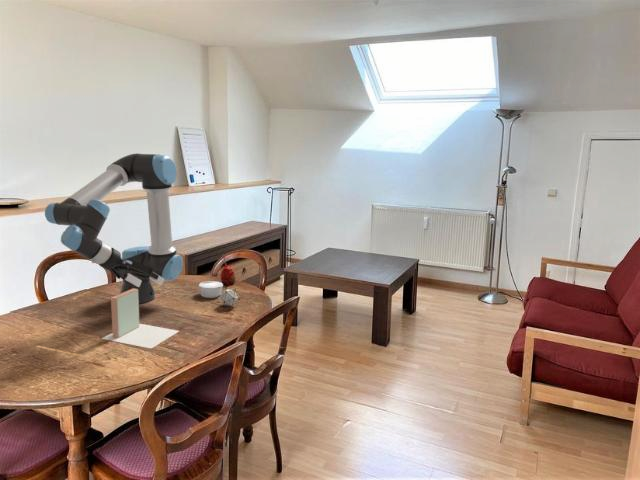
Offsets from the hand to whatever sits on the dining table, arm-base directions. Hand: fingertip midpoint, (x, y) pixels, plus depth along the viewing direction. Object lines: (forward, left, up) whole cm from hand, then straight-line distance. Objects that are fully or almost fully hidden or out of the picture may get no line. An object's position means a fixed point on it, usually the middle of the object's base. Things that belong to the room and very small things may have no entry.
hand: (151, 283), depth 187 cm
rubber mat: (+7, -7, -17) cm, 20 cm away
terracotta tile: (+2, -10, -17) cm, 20 cm away
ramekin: (-23, +36, -18) cm, 46 cm away
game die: (-5, +36, -18) cm, 40 cm away
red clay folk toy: (-35, +51, -18) cm, 64 cm away
